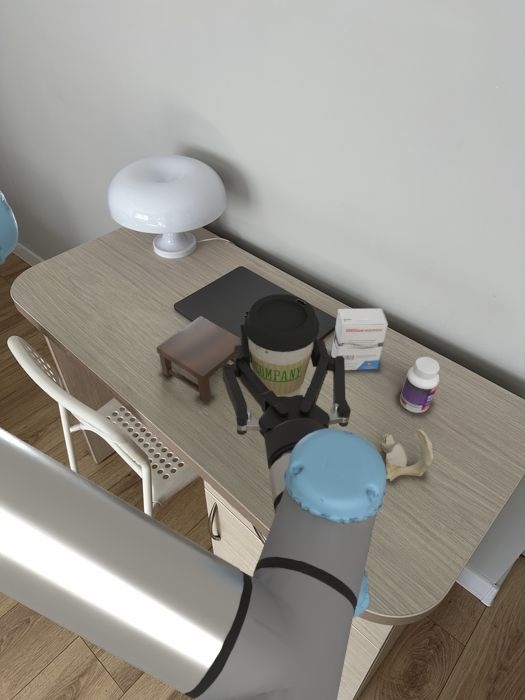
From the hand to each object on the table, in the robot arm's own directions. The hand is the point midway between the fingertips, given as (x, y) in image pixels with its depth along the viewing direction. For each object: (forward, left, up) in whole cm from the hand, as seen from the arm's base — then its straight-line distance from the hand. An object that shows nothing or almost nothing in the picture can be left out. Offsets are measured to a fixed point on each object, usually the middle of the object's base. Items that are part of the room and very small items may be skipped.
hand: (275, 330), depth 70 cm
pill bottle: (+17, +20, -22) cm, 34 cm away
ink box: (+3, +22, -22) cm, 31 cm away
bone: (+21, +5, -22) cm, 31 cm away
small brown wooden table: (-18, +2, -22) cm, 28 cm away
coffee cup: (+3, -3, -9) cm, 10 cm away
